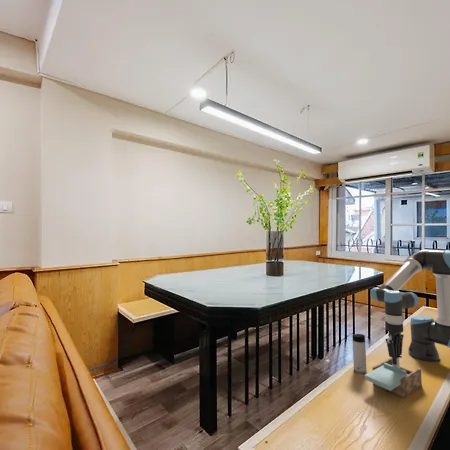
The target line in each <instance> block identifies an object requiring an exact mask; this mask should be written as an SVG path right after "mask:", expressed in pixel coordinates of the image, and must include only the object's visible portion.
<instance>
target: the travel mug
mask: <svg viewBox="0 0 450 450" xmlns="http://www.w3.org/2000/svg"><path fill="white" fill-rule="evenodd" d="M366 350H367V349H366V335H364V334H361V333H356V334H352V353H353V354H352V358H353V359H352V360H353V362H352V363H353V371H354V372H355V373H356V374H360V375H361V374H362V375H363V374H364V375H365V374H367V373H368V372H367V355H366V354H367V351H366Z"/></svg>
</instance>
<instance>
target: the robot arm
mask: <svg viewBox="0 0 450 450" xmlns="http://www.w3.org/2000/svg"><path fill="white" fill-rule="evenodd" d="M403 262H404V263H403V265H401V266H400V267H399V268H398V269H397V270H396V271H395V272H394V273H393V274H392V275H391V276H390V277H389V278H388V279H387V280H386V281H385V282H384V283H383V284H382V285H381V286H380V287H378V286H377V287H372V288H371V289H370V297H371V299H372V300H373V301H376V302H379V303H383V304H384V319H385V330H386V331H388V334H387V335H388V338H385V342H386V345H387V352H388V357H390V358H392V366H395V367H397V368H400V367H401V366H400V365H401V364H400V359H401V358H403V357H402V353H403V344H404V343H403V342H404V334H402V333H403V332H404V314H403V310H405V309H410V308H411V309H413V308H415V307H417V306H418V305H419V303H420V300H419V297H418V295H417V294H416V293H414V292H412V291H410V292H408V291H406V292H403V291H399V290H401V288H403V287H404V286H405V285H406V284H407V282H408V281H410V280H411V279H412V277H413V276H414V275H415V274H416V273H419V272H421V271H423V270H431V273H432V275H434V277H435V288H436V306H437V307H436V309H437V318H435V319H434V318H433V317H431V316H425V315H417V316H416V315H415V316H412V317H411V318H410V322H409V325H410V339H411V340H410V343H409V346H408V350H407V351H408V354H409V355H410V356H411V357H413V358H415V359H418V360H422V361H427V362H437V361H439V360H440V353H439V351H438V349H437V347H436V344H438V345H441V346H445V347H448V348H450V249H430V248H429V249H427V248H426V249H420V250H419V251H416V252H414V253H412V254H411V255H409V256H408V257H407V258H406V259H405V260H404V261H403Z"/></svg>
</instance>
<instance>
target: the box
mask: <svg viewBox="0 0 450 450" xmlns="http://www.w3.org/2000/svg"><path fill="white" fill-rule="evenodd" d="M384 363H387V364H389V365H392V357H390V358H388V359H386V360H384V361H382V362H380V363H378V364H375V366H372V367H371V368H372V371H373V370H375V369H377V368H379V367H380V366H382V365H384ZM400 369H403V370H405V371H406V372H407V374H408V375H407V376H405V377H403V378H402V379H401V385H399V386H397V387H396V388H394V389H393V390H391V391H389V390H387V389H385V388H383V387H381V386H379V385H376V384H374V383H372V385H373V386H375V387H377V388H379V389H381V390H384V391H386V392H388V393H390V394H393V395H395V396H397V397H399V398H401V399H403V400H404V399H405V398H407V397H408V396H410V395H411V394H412V393H414V392H415V391H417V390H418V389H419V388H421V387H422V385H423V384H422V368H421V367H418V368H416V369H415V370H410V369H407V368H405V367H402V366H400Z"/></svg>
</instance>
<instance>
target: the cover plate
mask: <svg viewBox="0 0 450 450" xmlns="http://www.w3.org/2000/svg"><path fill="white" fill-rule="evenodd" d="M407 375H408V374H407V372H406V371H405V370H403V369H400V368H397V367H395V366H392V365H389V364H387V363H384V365H382V366H380V367H379V368H377V369H375V370H373V369H372V370H371V371H370V372H366V373H365V374H364V380H366V381H368V382H370V383H371V384H373V383H374V384H376V385H379V386H381V387H383V388H385V389H387V390H389V391H391V390H393V389H394V388H396V387H397V386H399V385H401V379H402V378H403V377H405V376H407Z"/></svg>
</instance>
